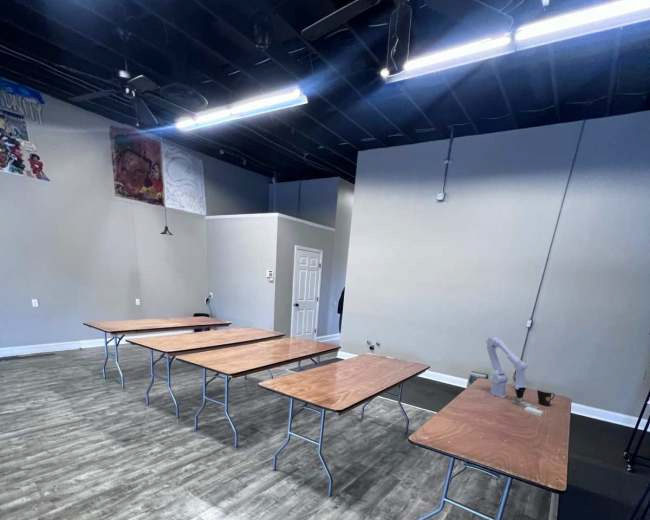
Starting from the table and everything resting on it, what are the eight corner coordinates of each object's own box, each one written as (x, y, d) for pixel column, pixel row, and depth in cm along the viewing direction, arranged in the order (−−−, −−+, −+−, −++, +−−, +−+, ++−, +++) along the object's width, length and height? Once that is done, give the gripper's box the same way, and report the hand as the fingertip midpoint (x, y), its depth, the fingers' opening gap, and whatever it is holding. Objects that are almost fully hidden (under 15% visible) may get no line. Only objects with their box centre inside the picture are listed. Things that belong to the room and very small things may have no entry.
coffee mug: (538, 405, 215) (538, 391, 215) (535, 401, 223) (535, 387, 223) (558, 408, 210) (558, 394, 211) (554, 404, 218) (554, 390, 219)
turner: (513, 401, 217) (513, 391, 217) (516, 400, 220) (516, 390, 221) (529, 406, 209) (529, 396, 209) (532, 405, 213) (532, 395, 213)
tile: (524, 408, 202) (540, 413, 195) (527, 406, 206) (543, 411, 200) (524, 411, 202) (540, 416, 195) (527, 409, 206) (543, 414, 199)
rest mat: (510, 402, 217) (510, 401, 217) (514, 400, 222) (514, 399, 222) (535, 410, 205) (535, 409, 205) (539, 407, 210) (539, 407, 210)
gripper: (522, 381, 210) (522, 401, 209) (530, 378, 219) (529, 397, 218) (511, 378, 215) (511, 398, 214) (519, 376, 224) (518, 394, 223)
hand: (520, 397), depth 216 cm, fingers closed on turner, 2 cm apart
